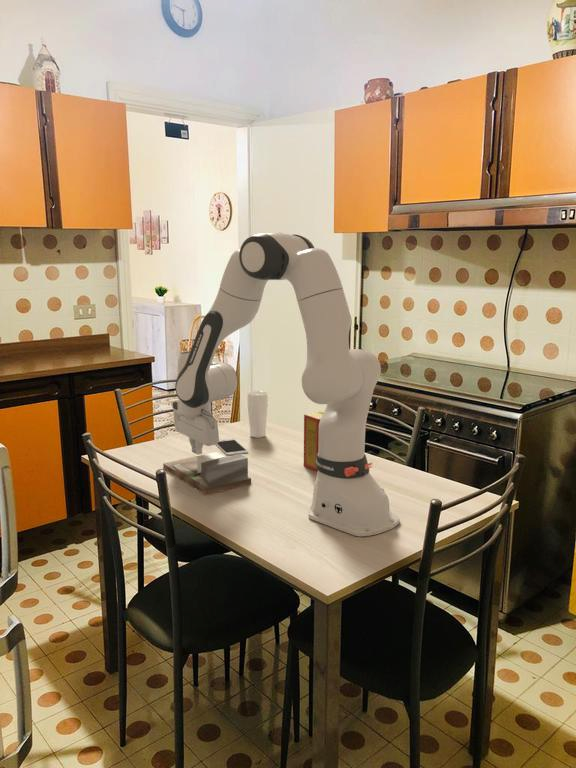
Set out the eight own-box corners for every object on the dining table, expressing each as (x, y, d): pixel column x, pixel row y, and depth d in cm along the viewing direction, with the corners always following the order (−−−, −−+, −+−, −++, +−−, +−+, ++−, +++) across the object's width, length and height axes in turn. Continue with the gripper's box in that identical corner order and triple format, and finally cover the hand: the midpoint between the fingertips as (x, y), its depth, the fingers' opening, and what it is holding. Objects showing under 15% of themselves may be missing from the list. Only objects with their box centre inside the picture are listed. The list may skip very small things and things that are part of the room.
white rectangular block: (225, 473, 174) (225, 456, 173) (198, 480, 169) (198, 462, 168) (216, 468, 178) (216, 452, 177) (189, 475, 173) (189, 457, 172)
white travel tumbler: (259, 431, 219) (259, 389, 216) (271, 436, 214) (271, 393, 211) (243, 435, 215) (243, 392, 212) (256, 440, 210) (255, 396, 207)
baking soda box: (317, 472, 180) (318, 418, 177) (303, 465, 185) (304, 413, 182) (342, 465, 186) (343, 413, 182) (328, 459, 191) (329, 408, 187)
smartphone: (233, 440, 211) (233, 437, 211) (248, 454, 197) (248, 451, 197) (212, 442, 208) (212, 440, 208) (226, 457, 194) (226, 454, 194)
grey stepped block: (251, 483, 171) (250, 457, 170) (205, 495, 163) (205, 467, 162) (205, 458, 191) (205, 435, 189) (163, 468, 183) (162, 443, 181)
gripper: (223, 411, 171) (225, 460, 174) (188, 398, 187) (190, 443, 190) (203, 415, 167) (205, 464, 170) (168, 401, 183) (171, 446, 186)
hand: (197, 453), depth 180 cm, fingers closed
